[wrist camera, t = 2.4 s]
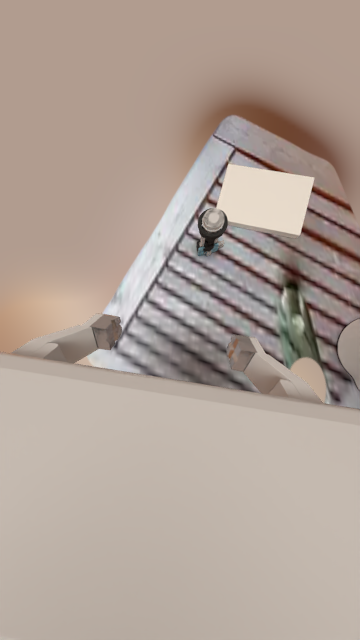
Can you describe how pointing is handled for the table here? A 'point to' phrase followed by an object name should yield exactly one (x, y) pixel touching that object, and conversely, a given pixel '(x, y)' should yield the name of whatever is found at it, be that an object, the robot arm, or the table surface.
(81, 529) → the robot arm
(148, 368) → the table surface
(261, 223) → the board
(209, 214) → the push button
